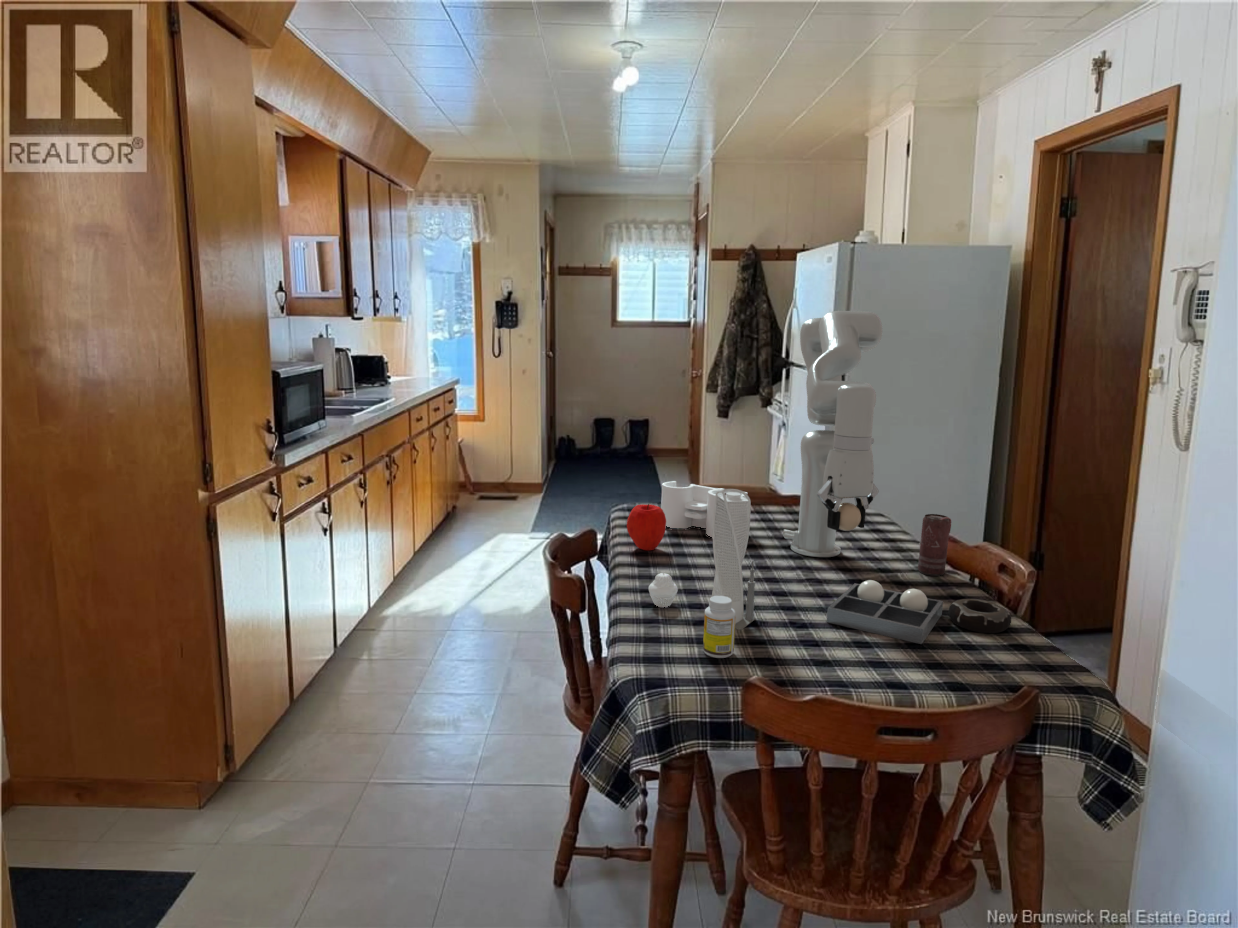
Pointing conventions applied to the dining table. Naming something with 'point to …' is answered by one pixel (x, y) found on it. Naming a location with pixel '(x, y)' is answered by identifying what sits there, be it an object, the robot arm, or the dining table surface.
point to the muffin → (663, 590)
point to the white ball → (914, 600)
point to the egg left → (871, 591)
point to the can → (934, 544)
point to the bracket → (689, 506)
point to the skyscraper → (732, 552)
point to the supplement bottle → (719, 627)
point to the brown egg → (849, 516)
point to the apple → (646, 526)
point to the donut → (979, 615)
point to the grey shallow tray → (884, 615)
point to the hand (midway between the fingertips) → (845, 526)
